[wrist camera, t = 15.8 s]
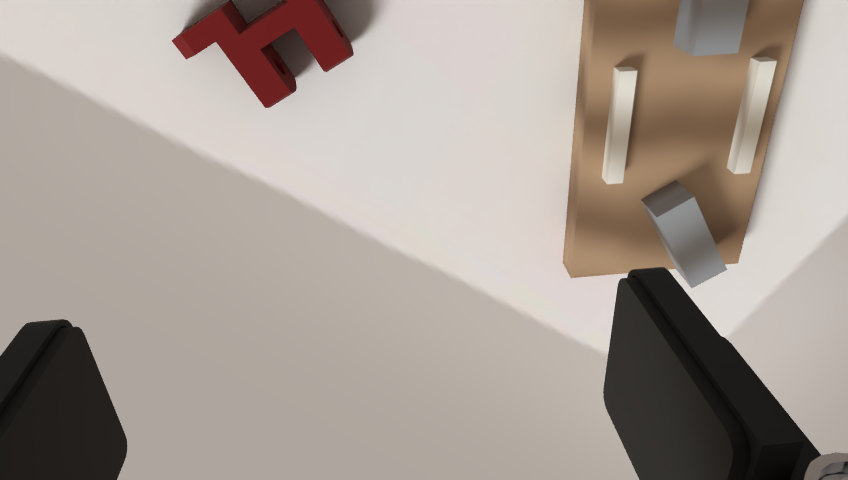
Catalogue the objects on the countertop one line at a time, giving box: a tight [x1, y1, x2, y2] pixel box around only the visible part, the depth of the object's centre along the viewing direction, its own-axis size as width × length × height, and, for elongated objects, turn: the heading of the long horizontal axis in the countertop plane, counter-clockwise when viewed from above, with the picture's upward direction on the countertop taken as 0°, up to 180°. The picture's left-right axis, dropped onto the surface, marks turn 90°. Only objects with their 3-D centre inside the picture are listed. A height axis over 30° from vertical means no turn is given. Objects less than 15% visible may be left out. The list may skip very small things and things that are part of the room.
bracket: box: [172, 0, 353, 108], centre depth 34 cm, size 3×6×10 cm
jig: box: [563, 0, 804, 288], centre depth 38 cm, size 22×12×4 cm, turn 2°
